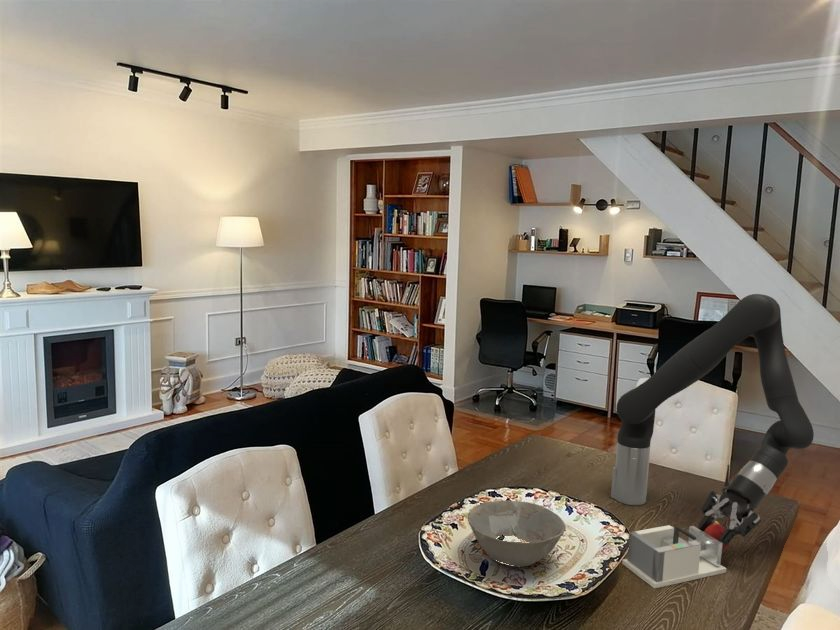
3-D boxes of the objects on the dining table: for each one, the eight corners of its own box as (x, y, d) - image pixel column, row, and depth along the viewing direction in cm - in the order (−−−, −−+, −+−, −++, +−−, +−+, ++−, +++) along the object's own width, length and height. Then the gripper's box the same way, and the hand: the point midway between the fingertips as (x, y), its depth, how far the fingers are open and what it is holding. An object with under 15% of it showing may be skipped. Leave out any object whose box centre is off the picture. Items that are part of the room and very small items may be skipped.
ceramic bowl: (575, 583, 140) (577, 542, 138) (473, 585, 138) (475, 543, 137) (548, 535, 161) (550, 499, 160) (460, 536, 160) (461, 499, 158)
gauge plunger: (691, 547, 155) (694, 512, 153) (724, 567, 145) (727, 531, 144) (655, 554, 151) (658, 518, 149) (686, 576, 141) (689, 538, 140)
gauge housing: (690, 549, 156) (693, 518, 155) (726, 572, 146) (729, 539, 145) (622, 563, 149) (624, 530, 147) (654, 588, 138) (657, 553, 137)
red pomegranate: (726, 549, 153) (729, 518, 152) (729, 560, 148) (732, 528, 147) (700, 544, 155) (703, 514, 154) (703, 556, 150) (705, 524, 149)
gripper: (721, 464, 158) (680, 515, 156) (770, 486, 145) (727, 542, 142) (735, 481, 161) (695, 532, 158) (785, 505, 147) (742, 560, 145)
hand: (710, 537), depth 150 cm, fingers closed on red pomegranate, 5 cm apart
